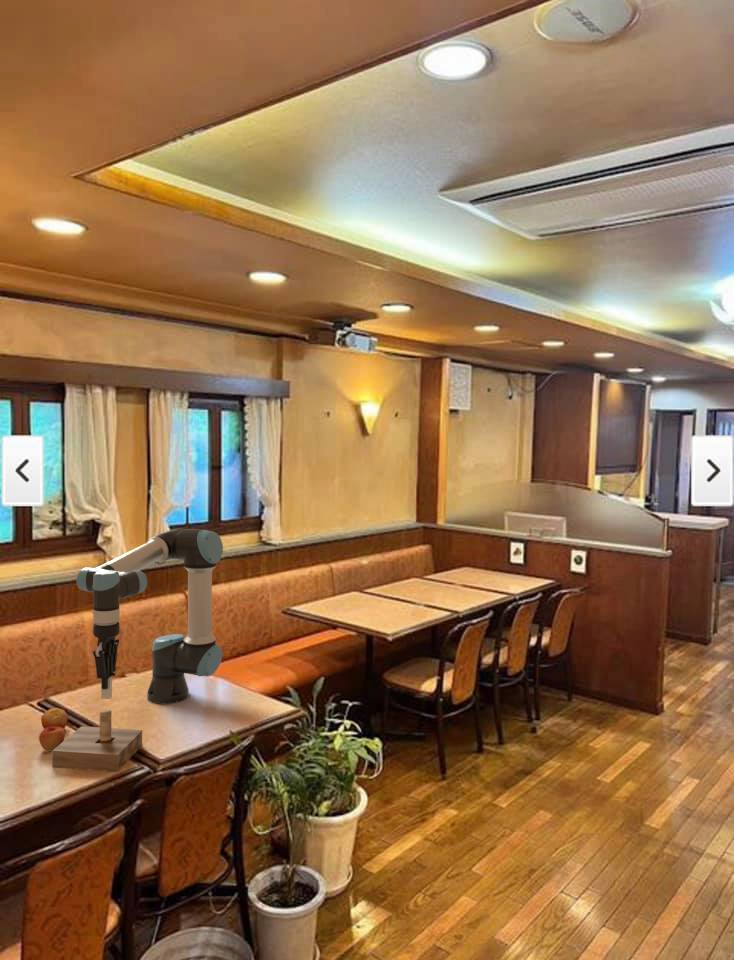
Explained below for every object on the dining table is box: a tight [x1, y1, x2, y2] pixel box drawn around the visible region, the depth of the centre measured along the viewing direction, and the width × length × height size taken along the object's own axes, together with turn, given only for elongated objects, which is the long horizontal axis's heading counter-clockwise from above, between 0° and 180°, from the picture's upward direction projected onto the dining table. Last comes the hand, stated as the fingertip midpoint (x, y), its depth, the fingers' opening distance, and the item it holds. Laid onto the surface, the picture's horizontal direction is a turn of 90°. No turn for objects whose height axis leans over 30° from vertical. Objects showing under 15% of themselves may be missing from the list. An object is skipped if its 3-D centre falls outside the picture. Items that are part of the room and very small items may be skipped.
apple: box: [38, 725, 66, 752], centre depth 219 cm, size 7×7×8 cm
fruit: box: [40, 707, 69, 730], centre depth 233 cm, size 8×8×8 cm
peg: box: [99, 709, 113, 744], centre depth 215 cm, size 4×4×14 cm
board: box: [51, 725, 143, 773], centre depth 215 cm, size 18×20×5 cm
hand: (106, 697), depth 215 cm, fingers closed
